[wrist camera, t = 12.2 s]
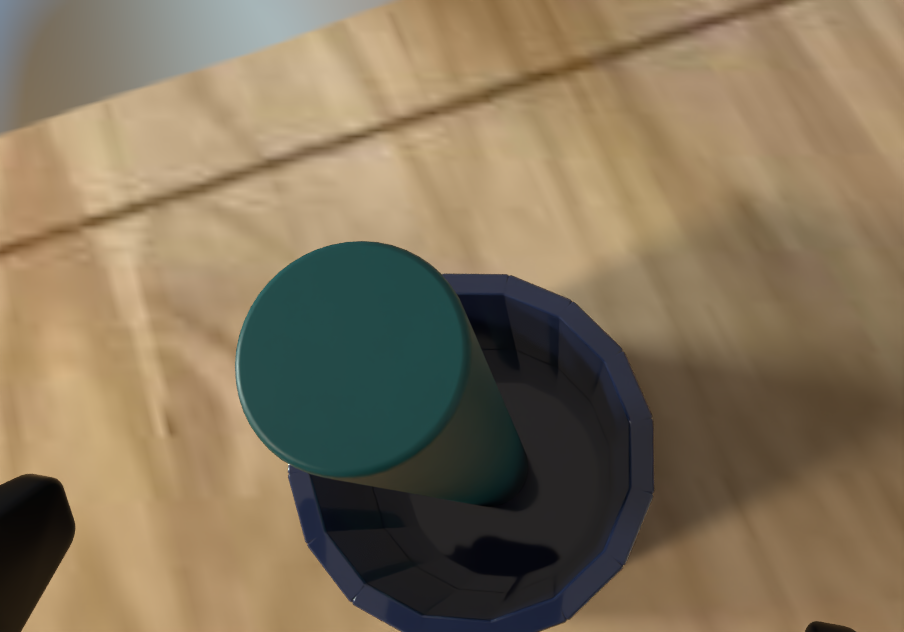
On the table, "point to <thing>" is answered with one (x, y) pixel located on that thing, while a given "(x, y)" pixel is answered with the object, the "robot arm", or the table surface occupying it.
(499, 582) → the cup
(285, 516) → the table surface
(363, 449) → the teal green rod
